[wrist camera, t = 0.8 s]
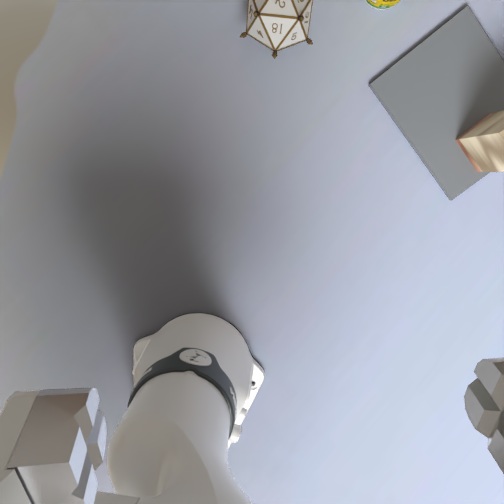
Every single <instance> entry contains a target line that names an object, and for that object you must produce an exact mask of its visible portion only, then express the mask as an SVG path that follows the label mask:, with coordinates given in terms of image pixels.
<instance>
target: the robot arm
mask: <svg viewBox="0 0 504 504" xmlns="http://www.w3.org/2000/svg"><path fill="white" fill-rule="evenodd" d="M133 361H134V368H133V371H132V375H134V388H133V391H132V393H131V396H130V399H129V402H128V409H127V410H126V412H125V414H124V415H123V417H122V419H121V421H120V422H119V424H118V426H117V428H116V429H115V431H114V433H113V435H112V437H111V439H110V442H109V446H108V451H107V470H108V475H109V478H110V481H111V483H112V486H113V488H114V491H115V493H116V494H113V493H106V492H100V491H97V487H98V481H97V478H96V475H95V472H94V471H95V470H96V469H97V468H98V466H99V465H100V464H101V463H102V462H103V459H104V454H105V449H106V437H107V429H106V420H105V416H104V413H102V412H101V411H99V410H98V405H99V401H100V398H99V395H98V392H97V388H72V389H50V390H35V391H16V392H14V393H13V395H12V396H11V397H10V398H9V399H8V400H7V402H6V404H5V406H4V408H3V411H2V413H1V415H0V504H254V503H253V502H252V501H251V500H250V499H249V498H248V497H247V495H246V494H245V493H244V492H243V490H242V489H241V488H240V486H239V485H238V483H237V482H236V480H235V479H234V477H233V475H232V473H231V471H230V468H229V466H228V449H229V447H230V445H231V443H232V442H233V443H237V441H238V439H239V437H240V434H241V430H242V427H241V426H240V425H241V423H242V422H243V420H244V418H245V416H246V414H247V412H248V410H249V408H250V406H251V404H252V402H253V400H254V398H255V396H256V394H257V392H258V390H259V388H260V386H261V384H262V382H263V380H264V376H265V373H264V370H263V368H262V367H261V366H260V365H259V364H258V363H257V362H256V361H255V360H254V359H253V358H252V356H251V354H250V352H249V349H248V346H247V344H246V342H245V340H244V338H243V337H242V335H241V334H240V333H239V332H238V330H237V329H236V328H235V327H233V326H232V325H231V324H230V323H228V322H227V321H225V320H223V319H221V318H219V317H216V316H213V315H209V314H203V313H193V314H186V315H182V316H179V317H177V318H175V319H173V320H171V321H170V322H168V323H167V324H165V325H164V326H163V327H162V328H161V329H160V330H159V331H158V332H156V333H155V334H153V335H150V336H147V337H144V338H142V339H140V340H138V341H137V342H136V343H135V346H134V349H133ZM474 373H475V375H476V376H477V379H476V380H475V381H473V382H472V383H471V384H470V385H468V387H467V390H466V393H465V396H464V398H465V409H466V412H467V414H468V417H469V419H470V421H471V423H472V424H473V426H474V427H475V429H476V430H477V431H479V432H480V433H482V434H483V435H485V436H486V437H488V450H489V451H490V453H491V454H492V456H493V458H494V459H495V461H496V462H497V464H498V465H499V467H500V469H501V470H502V472H503V473H504V358H492V359H483V360H481V361H480V362H479V363H477V366H476V368H475V370H474ZM252 381H255V383H254V384H252Z"/></svg>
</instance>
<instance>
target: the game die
mask: <svg viewBox="0 0 504 504" xmlns="http://www.w3.org/2000/svg"><path fill="white" fill-rule="evenodd" d="M312 3H313V0H248V12H247V27H246V32H243V33H242V34H241V36H240V37H243V38H244V37H246V35H249V36H251V37H252V38H254V39H255V40H257V41H259V42H260V43H262V44H263V45H265V46H266V47H268V48H270V49H271V50H273V51H274V52H273V55H272V56H273V57H274V59H275V57H276V56H277V51H279V50H282V49H284V48H287V47H290V46H292V45H295V44H297V43H300V42H303V41H305V40H306V41H307V43H308V44H313V43H312V40H310V39H309V38H308V32H309V24H310V17H311V10H312Z"/></svg>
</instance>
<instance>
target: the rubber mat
mask: <svg viewBox="0 0 504 504" xmlns="http://www.w3.org/2000/svg"><path fill="white" fill-rule="evenodd" d="M369 87H370V88H371V89H372V91H373V92H374V94H375V95H376V97H377V98H378V99H379V101H380V102H381V104H382V105H383V106H384V108H385V109H386V111H387V112H388V113H389V115H390V116H391V118H392V119H393V121H394V122H395V123H396V125H397V126H398V128H399V129H400V130H401V132H402V133H403V135H404V136H405V138H406V139H407V140H408V142H409V143H410V145H411V146H412V147H413V149H414V150H415V152H416V153H417V154H418V156H419V157H420V159H421V160H422V162H423V163H424V164H425V166H426V167H427V169H428V170H429V171H430V173H431V174H432V176H433V177H434V178H435V180H436V181H437V183H438V184H439V186H440V187H441V188H442V190H443V191H444V193H445V194H446V195H447V197H448V198H449V200H453V199H454V198H455V197H457V196H458V195H460V194H461V193H462V192H464V191H465V190H466V189H468V188H469V187H470V186H472V185H473V184H475V183H476V182H477V181H479V180H480V179H481V178H483V177H484V176H485V175H487V174H488V173H490V172H477V171H476V169H475V168H474V166H473V165H472V163H471V162H470V161H469V159H468V158H467V156H466V155H465V153H464V152H463V150H462V149H461V147H460V146H459V145H458V143H457V142H456V139H457V138H458V137H460V136H461V135H462V134H464V133H465V132H466V131H468V130H469V129H470V128H472V127H473V126H474V125H476V124H477V123H478V122H480V121H481V120H482V119H484V118H485V117H486V116H488V115H489V114H491V113H495V112H499V111H503V110H504V61H503V59H502V58H501V56H500V55H499V53H498V52H497V50H496V48H495V47H494V45H493V44H492V42H491V41H490V39H489V38H488V36H487V35H486V33H485V32H484V30H483V28H482V27H481V25H480V24H479V22H478V21H477V19H476V18H475V16H474V15H473V13H472V12H471V10H470V8H469V7H468V6H467V7H465V8H464V9H463V10H462V11H460V12H459V13H458V14H457V15H455V16H454V17H453V18H452V19H450V20H449V21H448V22H447V23H445V24H444V25H443V26H442V27H440V28H439V29H438V30H437V31H435V32H434V33H433V34H432V35H430V36H429V37H428V38H427V39H426V40H424V41H423V42H422V43H421V44H419V45H418V46H417V47H416V48H414V49H413V50H412V51H411V52H409V53H408V54H407V55H406V56H404V57H403V58H402V59H401V60H399V61H398V62H397V63H396V64H394V65H393V66H392V67H391V68H389V69H388V70H387V71H386V72H385V73H383V74H382V75H381V76H380V77H378V78H377V79H376V80H375V81H373V82H372V83H371V84H370V85H369Z"/></svg>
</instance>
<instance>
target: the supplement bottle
mask: <svg viewBox="0 0 504 504" xmlns="http://www.w3.org/2000/svg"><path fill="white" fill-rule="evenodd" d="M364 1H365V2H366V3H367V4H368V5H369V6H370V7H372V8H374V9H377V10H387V9H389V8H392V7H393V6H395V5H396V4H397V3H398V2H399V1H400V0H364Z"/></svg>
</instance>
